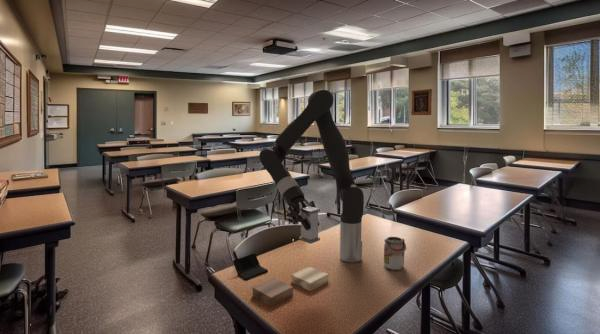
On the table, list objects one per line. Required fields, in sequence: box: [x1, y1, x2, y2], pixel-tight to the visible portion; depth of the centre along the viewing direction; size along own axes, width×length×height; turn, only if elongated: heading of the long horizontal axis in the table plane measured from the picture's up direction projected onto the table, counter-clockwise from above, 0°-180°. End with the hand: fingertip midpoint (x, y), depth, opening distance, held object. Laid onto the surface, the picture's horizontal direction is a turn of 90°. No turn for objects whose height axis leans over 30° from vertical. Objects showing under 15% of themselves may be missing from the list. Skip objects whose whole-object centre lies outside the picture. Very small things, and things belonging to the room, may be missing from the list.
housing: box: [298, 206, 321, 244], centre depth 124 cm, size 6×5×12 cm
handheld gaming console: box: [232, 253, 268, 281], centre depth 135 cm, size 12×7×10 cm
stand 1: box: [252, 277, 294, 307], centre depth 117 cm, size 10×10×3 cm
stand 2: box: [290, 266, 330, 292], centre depth 127 cm, size 10×10×3 cm
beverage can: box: [383, 236, 407, 271], centre depth 138 cm, size 9×8×12 cm
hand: (313, 227), depth 123 cm, fingers closed on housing, 4 cm apart
